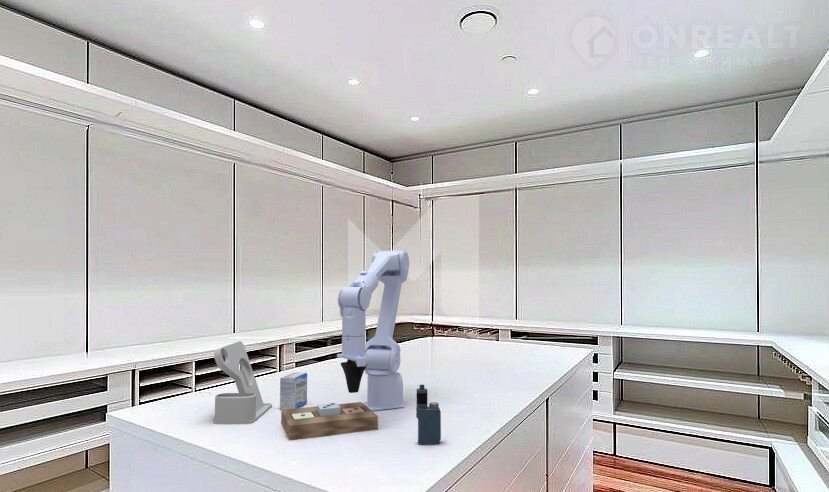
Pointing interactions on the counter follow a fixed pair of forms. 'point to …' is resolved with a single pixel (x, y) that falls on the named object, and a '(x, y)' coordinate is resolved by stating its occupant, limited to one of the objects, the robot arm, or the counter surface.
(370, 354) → the robot arm
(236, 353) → the phone holder
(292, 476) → the counter surface
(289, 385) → the medicine box
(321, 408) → the tile
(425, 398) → the vaping device
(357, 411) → the tile
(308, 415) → the tile
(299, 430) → the block tray
